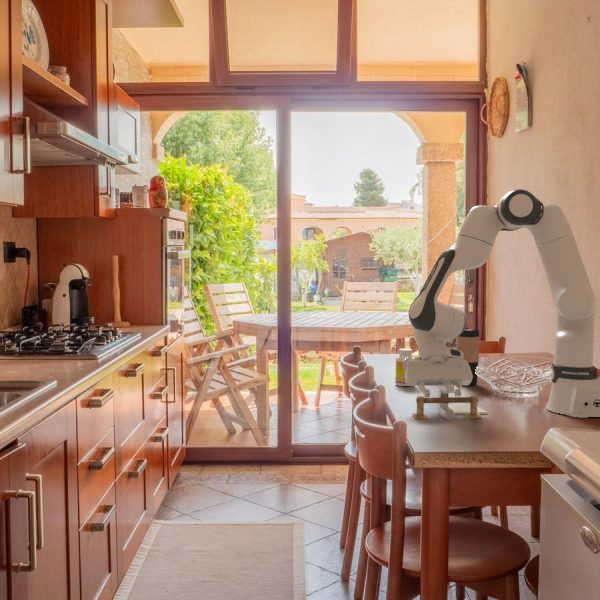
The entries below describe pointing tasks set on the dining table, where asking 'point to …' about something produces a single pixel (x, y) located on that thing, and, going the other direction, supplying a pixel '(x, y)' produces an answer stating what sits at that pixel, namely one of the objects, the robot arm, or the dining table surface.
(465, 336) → the travel mug
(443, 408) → the c link
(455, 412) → the tile
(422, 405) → the rail stand
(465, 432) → the dining table surface
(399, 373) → the supplement bottle
